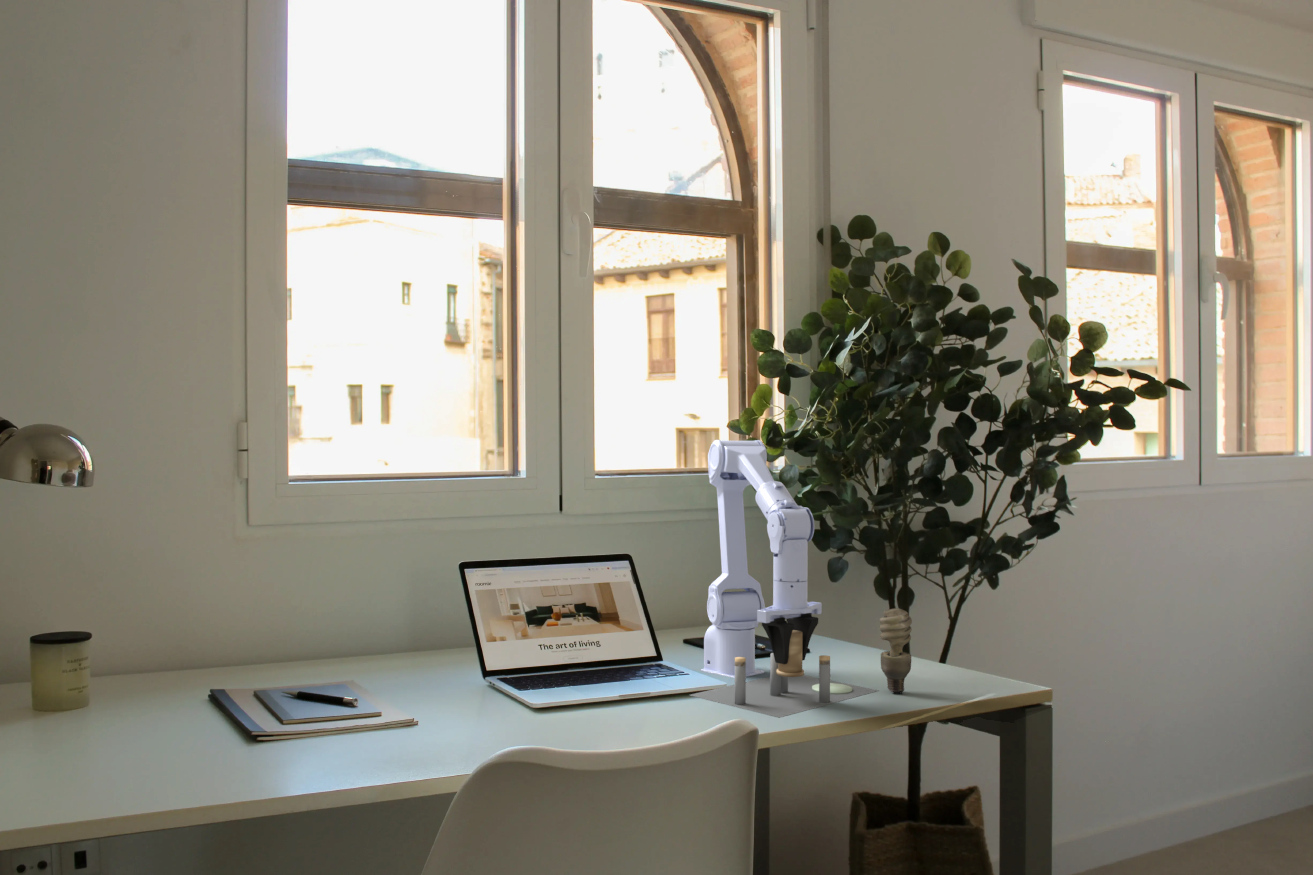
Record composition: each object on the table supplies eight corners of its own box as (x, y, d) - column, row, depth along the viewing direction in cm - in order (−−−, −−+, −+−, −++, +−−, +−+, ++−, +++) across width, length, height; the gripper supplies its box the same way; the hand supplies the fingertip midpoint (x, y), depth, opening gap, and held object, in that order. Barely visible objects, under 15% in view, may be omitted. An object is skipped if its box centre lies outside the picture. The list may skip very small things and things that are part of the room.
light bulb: (912, 699, 175) (912, 611, 175) (879, 698, 176) (879, 610, 176) (911, 692, 180) (911, 606, 180) (879, 690, 181) (879, 605, 181)
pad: (803, 688, 181) (803, 687, 181) (828, 682, 185) (828, 681, 185) (836, 696, 176) (836, 694, 176) (860, 689, 180) (860, 687, 180)
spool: (792, 678, 169) (792, 635, 169) (770, 673, 173) (770, 631, 173) (809, 673, 173) (809, 632, 173) (788, 669, 176) (788, 628, 176)
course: (688, 697, 176) (688, 650, 176) (789, 674, 194) (790, 632, 195) (779, 719, 161) (779, 669, 161) (879, 692, 180) (879, 647, 180)
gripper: (780, 586, 165) (780, 671, 165) (836, 578, 175) (835, 658, 175) (747, 581, 170) (747, 664, 170) (803, 574, 180) (803, 652, 180)
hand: (790, 661), depth 173 cm, fingers closed on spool, 4 cm apart
